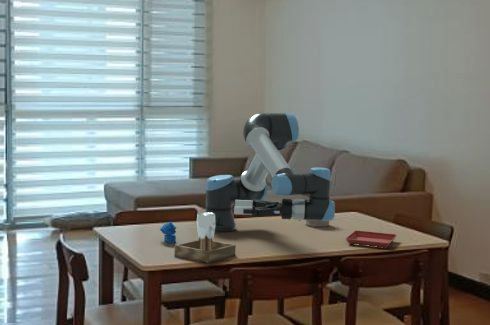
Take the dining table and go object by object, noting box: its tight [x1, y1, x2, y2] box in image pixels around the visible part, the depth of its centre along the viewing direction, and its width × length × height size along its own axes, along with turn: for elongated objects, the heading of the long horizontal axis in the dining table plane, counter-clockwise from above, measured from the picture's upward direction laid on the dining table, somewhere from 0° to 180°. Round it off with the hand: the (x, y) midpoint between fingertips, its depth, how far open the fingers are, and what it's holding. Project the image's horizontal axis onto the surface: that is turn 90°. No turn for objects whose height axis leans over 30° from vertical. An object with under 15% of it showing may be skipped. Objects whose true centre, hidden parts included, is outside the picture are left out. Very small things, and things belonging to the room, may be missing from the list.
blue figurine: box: [159, 221, 177, 244], centre depth 304 cm, size 7×8×11 cm
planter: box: [305, 220, 330, 228], centre depth 349 cm, size 11×11×10 cm
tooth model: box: [196, 211, 216, 251], centre depth 281 cm, size 7×7×15 cm
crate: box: [174, 239, 236, 264], centre depth 282 cm, size 16×16×4 cm
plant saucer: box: [345, 230, 398, 249], centre depth 313 cm, size 18×18×3 cm
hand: (234, 206), depth 279 cm, fingers open, 13 cm apart
